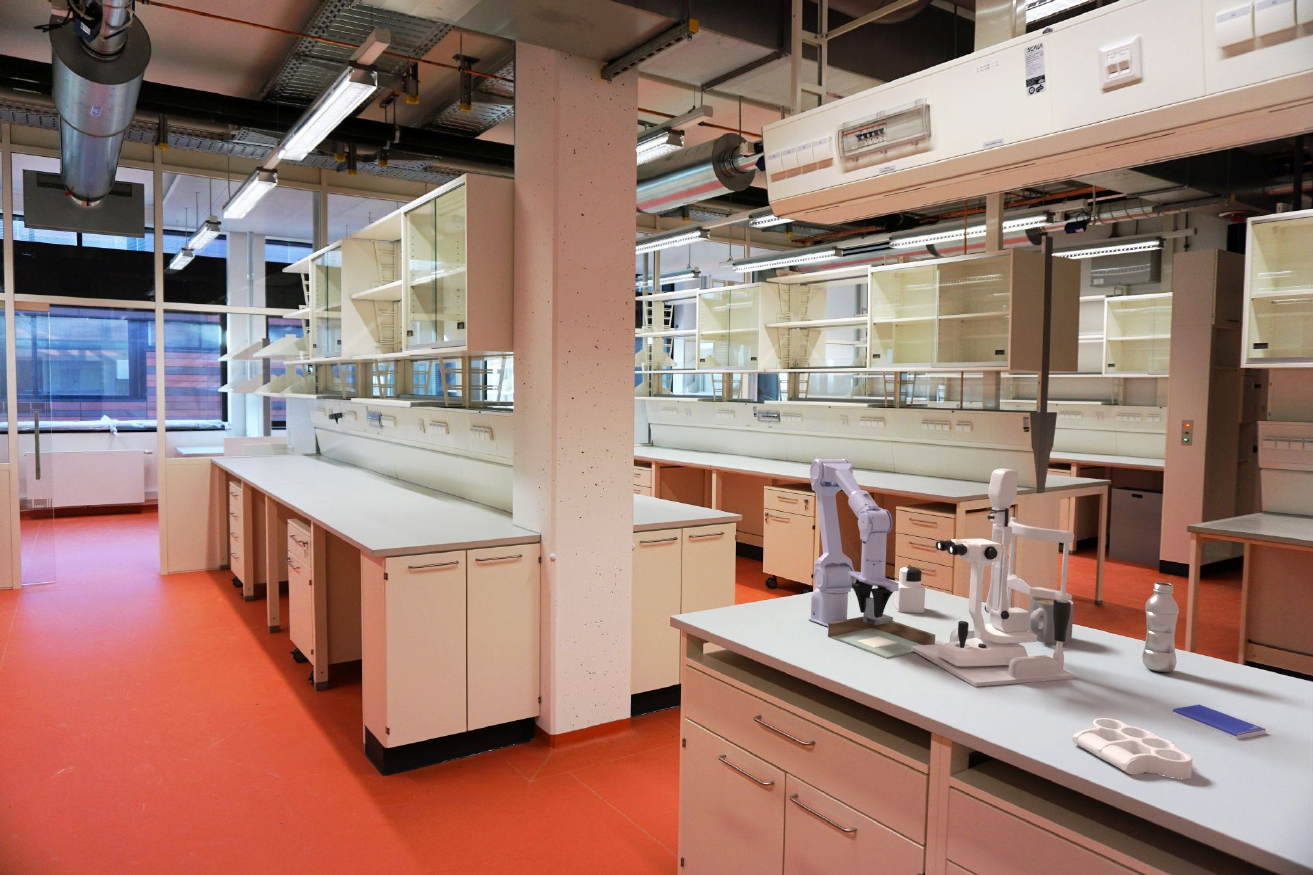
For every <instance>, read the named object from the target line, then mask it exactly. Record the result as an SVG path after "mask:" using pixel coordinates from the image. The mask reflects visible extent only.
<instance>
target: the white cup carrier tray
mask: <svg viewBox="0 0 1313 875" xmlns="http://www.w3.org/2000/svg"><path fill="white" fill-rule="evenodd" d="M1071 740H1072V742H1073V744H1075V745H1076V746H1078V747H1080V748H1081V749H1082V748H1083V749H1084V750H1086V751H1088V752H1090V754H1091V753H1092V754H1093V755H1094V756H1097V757H1098V758H1099V759H1100V760H1101V759H1102V760H1103V761H1106V762H1107V763H1109V764H1111V765H1113V766H1115V767H1116V768H1118V769H1120V770H1122V771H1123V772H1125V774H1128V775H1131V774H1136V775H1138V774H1137V773H1142V774H1146V772H1147V773H1149V772H1151V773H1150V774H1155V773H1158V774H1160V775H1159V776H1161V775H1165V776H1167V777H1166V778H1168V777H1174V778H1177V779H1176V780H1187V779H1186V778H1189V777H1190V778H1192V773H1193V772H1192V771H1193V757H1192V756H1191V754H1189V753H1186V752H1184V751H1182V750H1180V749H1179V748H1177V746H1176V745H1177V744H1175V743H1173V742H1172V741H1170V740H1168V739H1165V738H1162V737H1159V736H1157V735H1156V734H1154V733H1153V732H1152V731H1149V730H1147V729H1144V728H1141V727H1136V726H1132V725H1129V724H1126V723H1124V722H1123V721H1121V720H1118V719H1114V718H1109V717H1108V718H1106V717H1101V718H1100V717H1099V718H1095V719H1094V720H1093V722H1092V727H1091V728H1086V729H1083V730H1080V731H1077V732H1076V733H1075V734H1073V736H1072V739H1071ZM1144 772H1145V773H1144ZM1158 774H1157V775H1158ZM1178 778H1179V779H1178ZM1181 778H1182V779H1181ZM1190 778H1189V779H1190Z"/></svg>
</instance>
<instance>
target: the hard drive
mask: <svg viewBox="0 0 1313 875" xmlns="http://www.w3.org/2000/svg"><path fill="white" fill-rule="evenodd" d="M1171 714H1172V715H1174V716H1177V717H1179V718H1182V719H1185V720H1187V721H1189V722H1192V723H1193V724H1194V723H1195V724H1196V725H1198V726H1202V727H1204V728H1207V729H1209V730H1212V731H1215V732H1216V733H1219V734H1222V735H1225V736H1227V737H1229V738H1233V739H1234V740H1240V739H1241V740H1242V739H1245V738H1250V737H1255V736H1260V735H1264V734H1265V735H1266V733H1267V732H1266V728H1264V727H1261V726H1258V725H1255V724H1253V723H1251V722H1248V721H1245V720H1244V719H1243V720H1242V719H1240V718H1237V717H1234V716H1231V715H1230V714H1226V713H1223V712H1221V711H1218V710H1215V709H1213V708H1210V707H1207V706H1204V705H1202V704H1194V705H1188V706H1182V707H1176V708H1173V709H1172V712H1171Z"/></svg>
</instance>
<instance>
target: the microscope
mask: <svg viewBox="0 0 1313 875" xmlns="http://www.w3.org/2000/svg"><path fill="white" fill-rule="evenodd" d="M1018 478H1019V477H1018V472H1017V471H1016V470H1015V469H1011V468H997V469H994V470H993V471H992V472H991V476H990V481H989V485H988V490H987V496H988V498H989V501H990V504H991V508H990V507H986V508H985V510H987V511H990V515H987V520H989V521H990V522H993V523H992V529H991V530H992V531H991V532H992V533H991V540H989V539H985V538H963V539H961V538H960V539H957V538H951V539H947V540H939V541H936V542H935V549H936V550H937V551H940V552H945V551H946V552H947V554H948V555H951V556H955V557H957V556H960V558H962V560H965V561H966V563H967V564H970V581H969V596H968V599H969V600H968V613H969V615H970V617H971V619H972V624H973V627H970V626H969V622H968V621H965V620H959V621H958V622H957V628H954V629H953V630H951V633H950V636H949V642H946V643H938V644H936V643H935V644H934V645H919V646H911V650H913V651H914V653H917V654H918V655H920V656H921V657H922V658H925V659H926V660H928V661H930V662H932V663H934V664H935V665H937V666H939V667H940V668H942V669H944V670H946V671H947V672H949V673H951V674H953V675H954V676H957V677H958V678H960V679H961V680H963V681H965V682H967V683H968V684H970V685H971V686H973V687H976V688H977V687H986V686H997V685H999V686H1000V685H1009V684H1023V683H1035V682H1036V683H1037V682H1047V681H1058V680H1060V681H1061V680H1069V679H1070V680H1071V679H1074V678H1075V674H1074V673H1071V672H1069V671H1067V670H1065V669H1064V664H1065V663H1064V662H1065V654H1064V649H1063V645H1064V644H1063V642H1064V641H1065V640H1066V632H1067V627H1068V623H1069V619H1070V612H1071V603H1070V602H1068V600H1071V601H1072V600H1073V595H1072V594H1070V593H1069V592H1067V578H1068V566H1069V553H1070V552H1069V551H1070V550H1069V549H1070V544H1072V543H1073V542H1074V539H1075V534H1074V532H1073V531H1070V530H1062V529H1061V530H1060V529H1059V530H1058V529H1052V528H1044V527H1036V526H1029V525H1025V524H1022V523H1018V519H1017V518H1016V517H1015V516H1011V510H1010V508H1011V507H1012V504H1013V502H1014V501H1015V500H1016V498H1017V496H1018V495H1017V494H1018ZM1016 536H1017V537H1021V538H1024V539H1030V540H1037V541H1043V542H1044V541H1045V542H1053V543H1062V544H1063V552H1062V553H1063V554H1062V564H1061V580H1060V590H1056V589H1051V588H1045V587H1042V586H1035V587H1031V585H1029V584H1028V583H1027V582H1026V581H1025V580H1024V579H1022V578H1019V577H1018V575H1017V574H1014V564H1015V550H1016V548H1015V547H1016ZM1000 542H1002V543H1000ZM1002 545H1003V549H1002ZM1008 550H1009V554H1008ZM990 566H991V570H990V571H991V572H990V585H989V586H990V587H989V590H988V595H987V598H986V603H985V605H984V611H985V612H986V613H988V614H990V615H989V623H985V621H984V616H983V614H982V613H983V612H982V608H983V607H982V605H983V592H984V590H983V589H984V577H985V576H984V574H985V573H984V572H985V568H986V567H990ZM1013 590H1014V591H1017V592H1019V593H1023V594H1025V595H1028V596H1031V597H1032V596H1036V597H1042V598H1048V599H1054V602H1053V621H1054V640H1056V641H1057V643H1056V644H1055V645H1056V646H1055V650H1054V652H1053V654H1052V657H1050V656H1048V655H1046V654H1045V655H1042V654H1041V655H1034V654H1031V653H1029V652H1028V651H1027V650H1026V647H1025V646H1024V645H1022V644H1026V643H1027V644H1028V643H1036V642H1038V641H1037V635H1035V634H1033V633H1031V632H1029V626H1030V610H1026V609H1023V608H1020V607H1018V606H1017V607H1012V596H1013Z"/></svg>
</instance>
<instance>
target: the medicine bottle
mask: <svg viewBox="0 0 1313 875" xmlns="http://www.w3.org/2000/svg"><path fill="white" fill-rule="evenodd" d="M898 574H899V576H898V578H899V579H898V581H896V582H897V583H899V591H895V592H894V599H893V606H894V608H895V609H896V610H897V611H898V612H899V613H910V614H911V613H912V614H913V613H914V614H924V613H925V604H926V602H925V601H926V600H925V598H926V588H925V587H924V586H923V585H922V570H921V569H919V568H917V567H913V566H904V567H901V568H899V572H898Z"/></svg>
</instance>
